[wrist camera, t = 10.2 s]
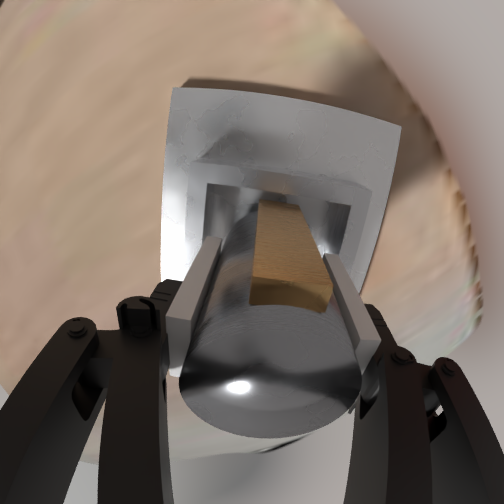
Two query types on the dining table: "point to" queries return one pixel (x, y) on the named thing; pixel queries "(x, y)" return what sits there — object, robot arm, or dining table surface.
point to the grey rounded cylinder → (270, 334)
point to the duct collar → (273, 172)
